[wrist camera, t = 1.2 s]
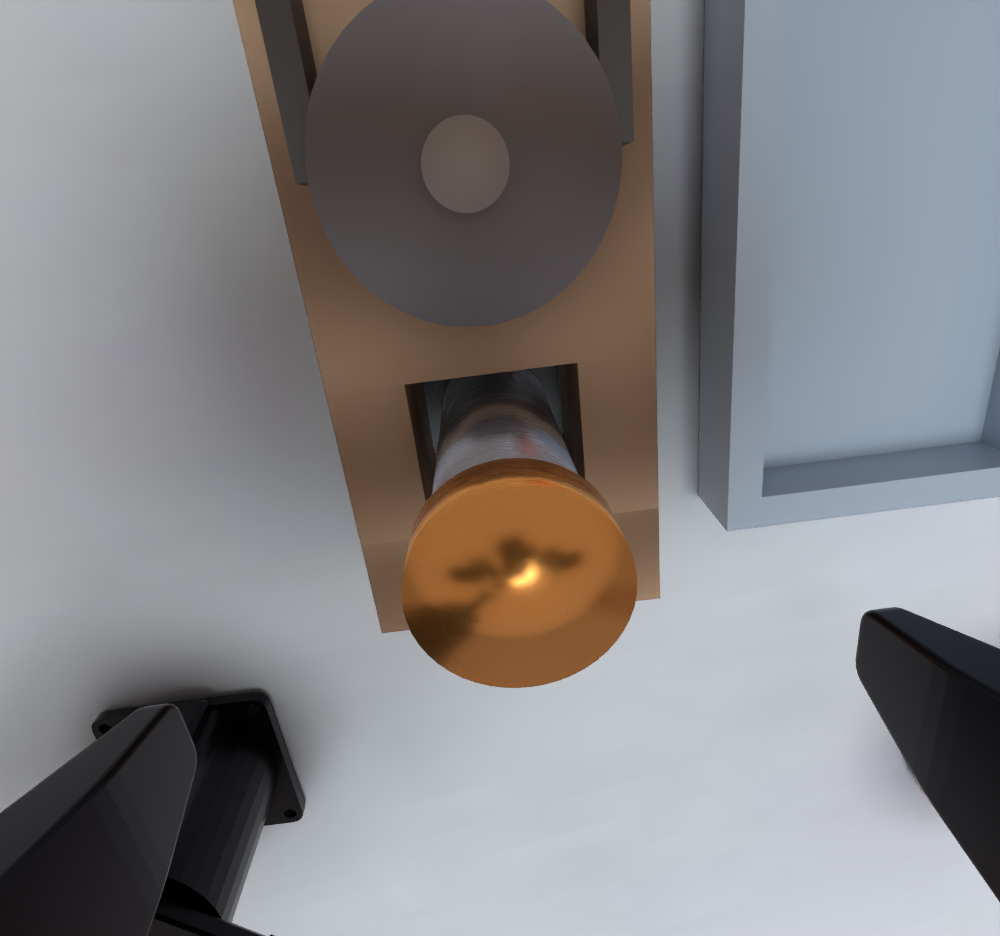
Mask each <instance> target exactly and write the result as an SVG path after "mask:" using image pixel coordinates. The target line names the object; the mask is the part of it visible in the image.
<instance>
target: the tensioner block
mask: <svg viewBox="0 0 1000 936" xmlns="http://www.w3.org/2000/svg"><path fill="white" fill-rule="evenodd" d="M233 4H234V8H235V12H236V16H237V21H238V25H239V29H240V33H241V38H242V42H243V46H244V50H245V55H246V59H247V63H248V67H249V71H250V76H251V80H252V84H253V88H254V93H255V97H256V101H257V105H258V110H259V114H260V118H261V122H262V127H263V131H264V135H265V139H266V144H267V148H268V152H269V156H270V160H271V165H272V169H273V173H274V177H275V182H276V186H277V190H278V194H279V199H280V203H281V207H282V211H283V216H284V220H285V224H286V228H287V233H288V237H289V241H290V245H291V249H292V254H293V258H294V262H295V266H296V271H297V275H298V279H299V283H300V288H301V292H302V296H303V300H304V305H305V309H306V313H307V317H308V322H309V326H310V330H311V334H312V338H313V343H314V347H315V351H316V355H317V360H318V364H319V368H320V372H321V377H322V381H323V385H324V389H325V394H326V398H327V402H328V406H329V411H330V415H331V419H332V423H333V427H334V432H335V436H336V440H337V444H338V449H339V453H340V457H341V461H342V466H343V470H344V474H345V478H346V483H347V487H348V491H349V495H350V500H351V504H352V508H353V512H354V516H355V521H356V525H357V529H358V533H359V538H360V542H361V546H362V550H363V555H364V559H365V563H366V567H367V572H368V576H369V580H370V584H371V589H372V593H373V597H374V601H375V605H376V610H377V614H378V618H379V622H380V627H381V631H382V633H388V632H396V631H404V630H410V628H409V626H408V624H407V622H406V618H405V615H404V612H403V606H402V599H401V588H402V579H403V573H404V567H405V562H406V556H407V550H408V545H409V539H410V534H411V530H412V528H413V525H414V522H415V520H416V518H417V516H418V514H419V512H420V510H421V508H422V507H423V506H424V504H425V503H426V501H427V500H428V499H429V497H430V496H431V495H432V490H433V482H434V474H435V466H436V460H435V454H434V448H433V442H432V436H431V430H430V425H429V419H428V413H427V407H426V401H425V395H424V389H423V383H422V382H429V381H437V380H445V379H453V378H461V377H469V376H477V375H485V374H492V373H500V372H508V371H516V370H524V369H532V368H540V367H548V366H556V365H558V371H559V383H560V396H561V408H562V421H563V433H564V442H565V444H566V447H567V449H568V452H569V454H570V456H571V459H572V461H573V464H574V466H575V468H576V471H577V473H578V475H579V476H581V477H583V478H584V479H585V480H587V481H588V482H589V483H590V484H591V485H592V486H594V487H595V488H596V489H597V490H598V492H599V493H600V494H601V495H602V496H603V497H604V499H605V500H606V502H607V503H608V505H609V507H610V508H611V510H612V512H613V514H614V516H615V519H616V521H617V523H618V525H619V527H620V529H621V531H622V533H623V535H624V537H625V539H626V541H627V544H628V546H629V548H630V550H631V552H632V555H633V558H634V562H635V566H636V572H637V596H636V601H640V600H648V599H656V598H660V575H659V513H658V451H657V388H656V326H655V264H654V202H653V140H652V77H651V15H650V0H233Z"/></svg>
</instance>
